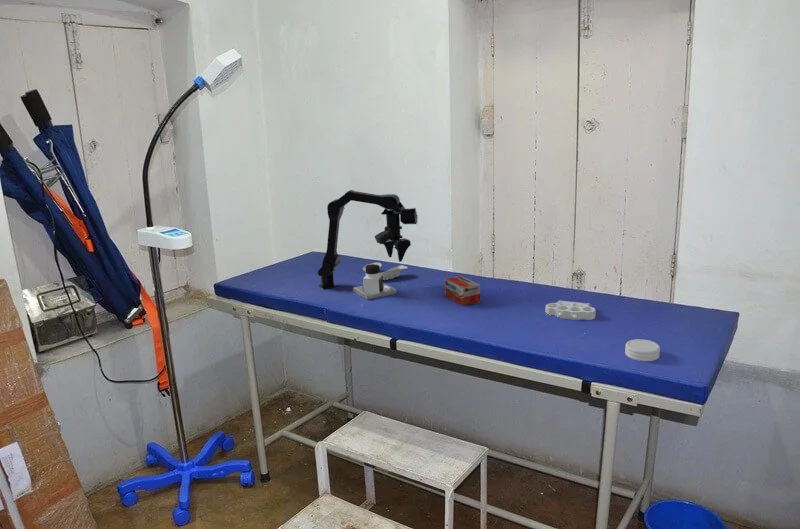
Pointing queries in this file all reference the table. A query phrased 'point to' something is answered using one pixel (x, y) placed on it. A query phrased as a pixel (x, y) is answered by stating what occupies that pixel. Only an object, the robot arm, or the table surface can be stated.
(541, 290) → the table surface
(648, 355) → the white round container
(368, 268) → the medicine bottle
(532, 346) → the table surface
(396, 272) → the dental model
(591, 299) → the table surface
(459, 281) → the medicine box
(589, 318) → the grey holed plate
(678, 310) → the table surface
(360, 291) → the tray
